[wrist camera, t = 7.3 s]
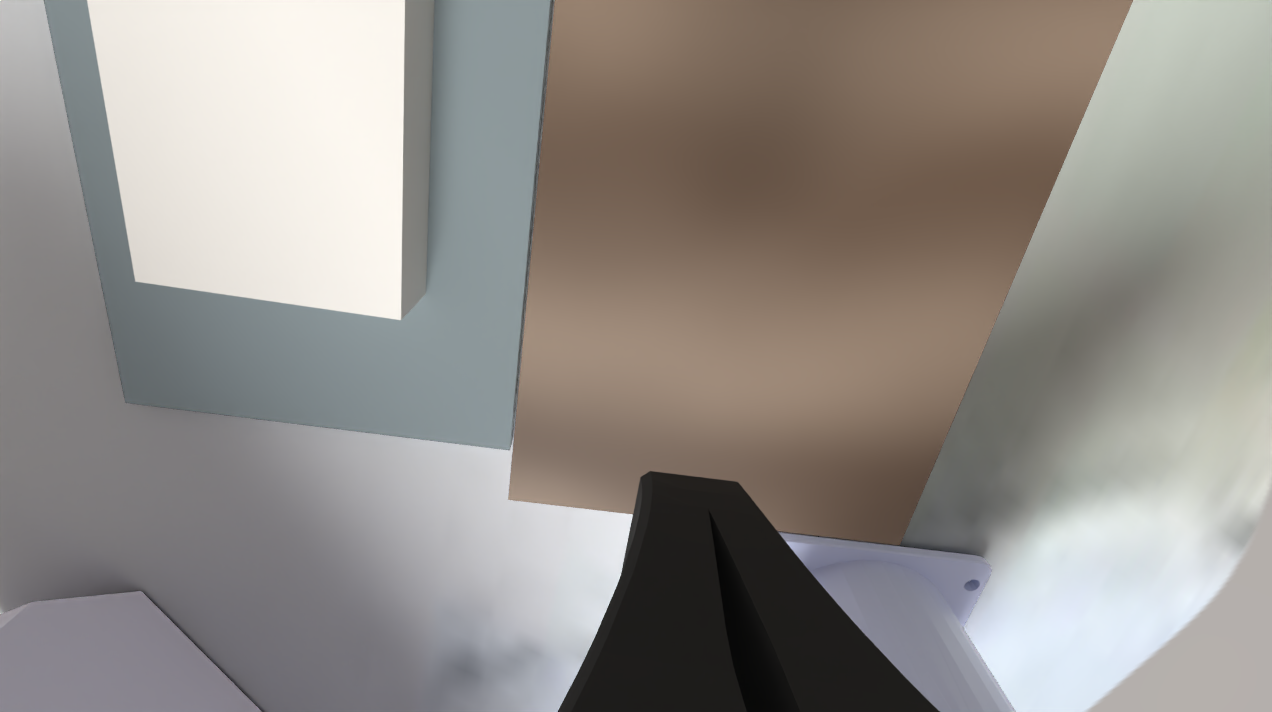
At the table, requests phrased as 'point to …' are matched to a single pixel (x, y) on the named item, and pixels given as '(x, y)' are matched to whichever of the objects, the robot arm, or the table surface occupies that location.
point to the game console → (107, 660)
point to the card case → (273, 146)
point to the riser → (784, 240)
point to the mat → (340, 341)
